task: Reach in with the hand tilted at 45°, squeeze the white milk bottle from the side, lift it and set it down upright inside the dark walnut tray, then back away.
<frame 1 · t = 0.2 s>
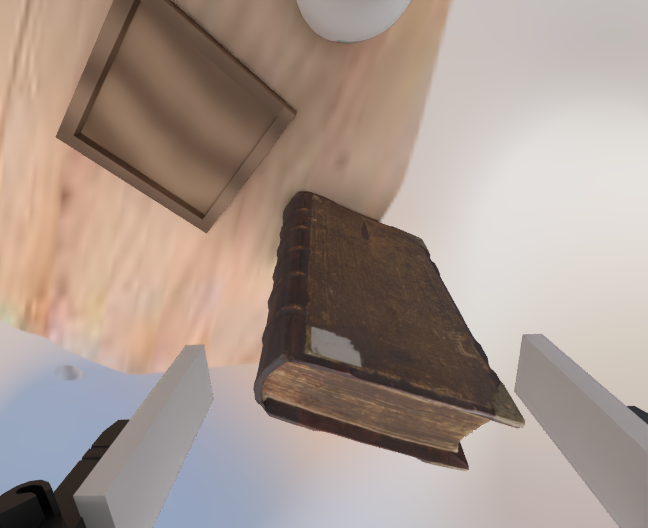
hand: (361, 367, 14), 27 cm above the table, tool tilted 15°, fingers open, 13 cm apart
walnut tray: (182, 121, 34), on the table
book: (352, 227, 41), on the table
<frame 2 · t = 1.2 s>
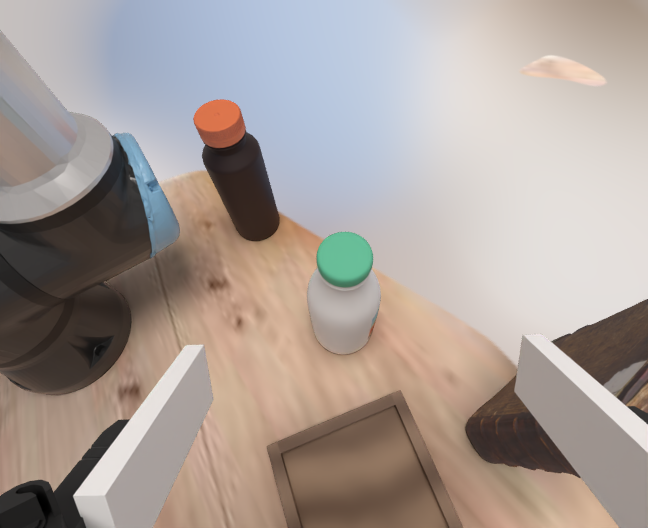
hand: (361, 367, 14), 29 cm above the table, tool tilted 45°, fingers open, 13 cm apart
walnut tray: (363, 494, 37), on the table
vinegar: (258, 223, 53), on the table
book: (519, 399, 41), on the table
milk bottle: (342, 326, 45), on the table
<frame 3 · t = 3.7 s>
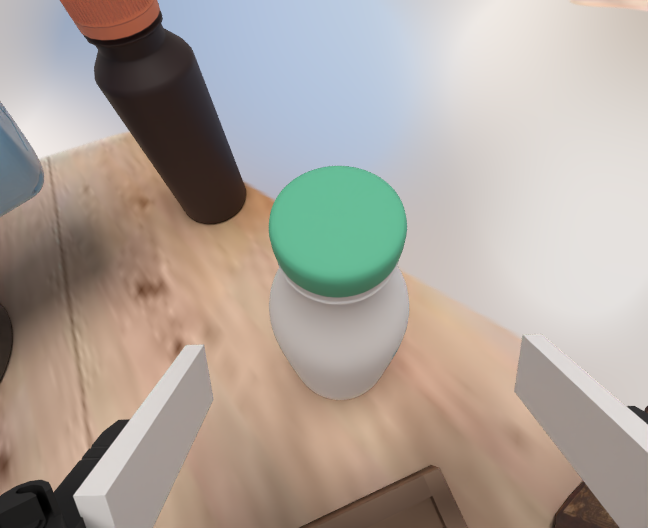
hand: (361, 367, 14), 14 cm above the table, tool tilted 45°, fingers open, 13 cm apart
vinegar: (216, 199, 37), on the table
book: (637, 475, 24), on the table
milk bottle: (339, 352, 29), on the table
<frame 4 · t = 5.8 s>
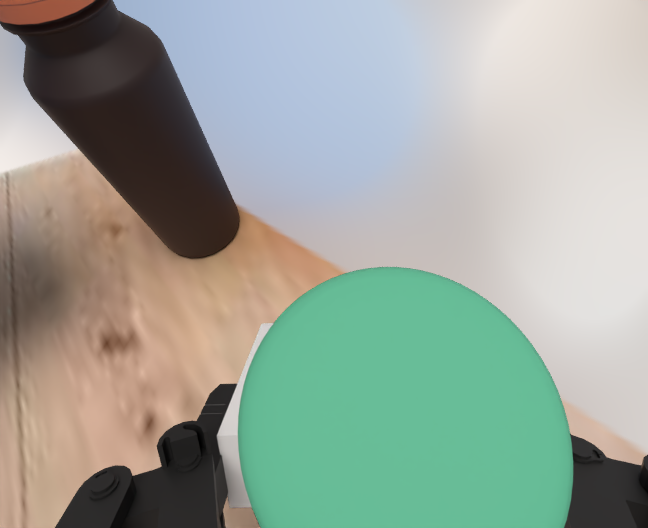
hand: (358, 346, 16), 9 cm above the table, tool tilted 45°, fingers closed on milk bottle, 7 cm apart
vinegar: (203, 227, 31), on the table
milk bottle: (355, 433, 22), on the table, touching gripper
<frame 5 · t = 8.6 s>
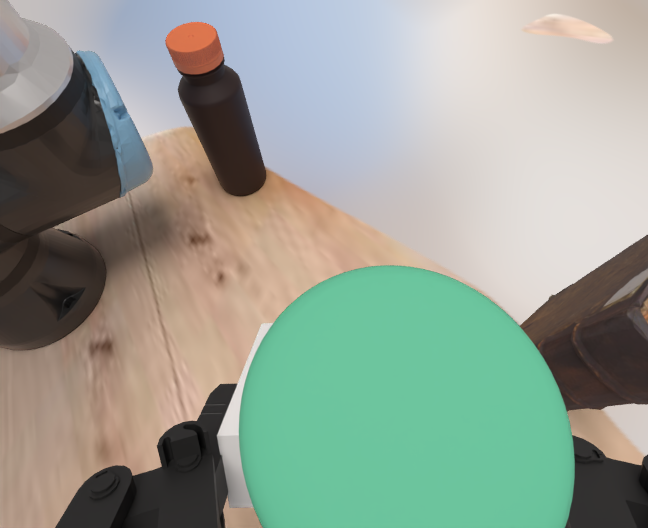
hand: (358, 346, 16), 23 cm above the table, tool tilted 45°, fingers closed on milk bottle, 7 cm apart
vinegar: (244, 179, 50), on the table
book: (519, 355, 38), on the table
milk bottle: (355, 433, 22), point 14 cm above the table, touching gripper
when the fingers open (12 cm above the table, at t = 11.2 s): milk bottle drops 2 cm, resting on walnut tray.
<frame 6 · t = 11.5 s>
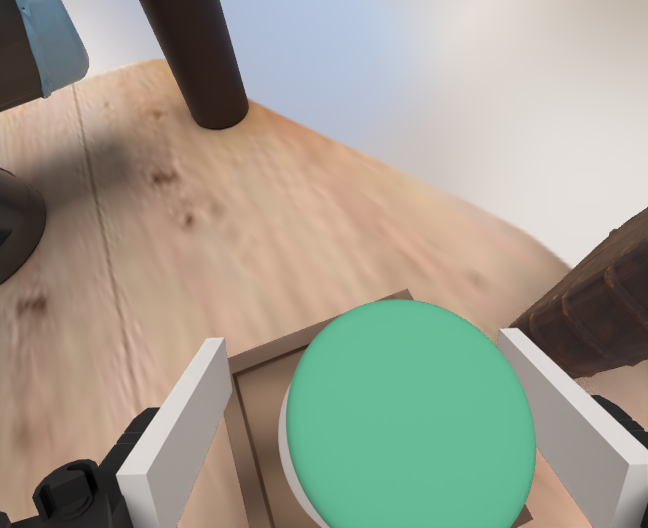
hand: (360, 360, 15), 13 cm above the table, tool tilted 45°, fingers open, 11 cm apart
walnut tray: (354, 433, 25), on the table
vinegar: (221, 112, 42), on the table
book: (575, 305, 29), on the table
milk bottle: (359, 434, 24), point 1 cm above the table, touching walnut tray
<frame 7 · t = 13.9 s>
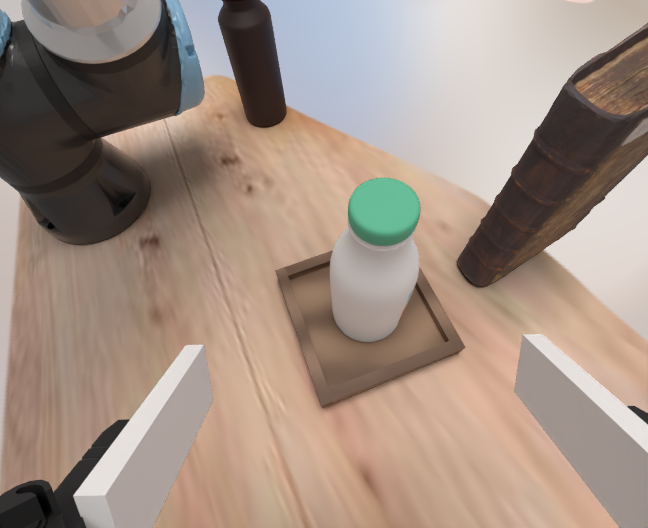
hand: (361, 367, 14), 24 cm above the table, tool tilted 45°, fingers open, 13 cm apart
walnut tray: (362, 313, 40), on the table
vinegar: (266, 114, 58), on the table
book: (507, 242, 44), on the table
milk bottle: (365, 311, 40), point 1 cm above the table, touching walnut tray
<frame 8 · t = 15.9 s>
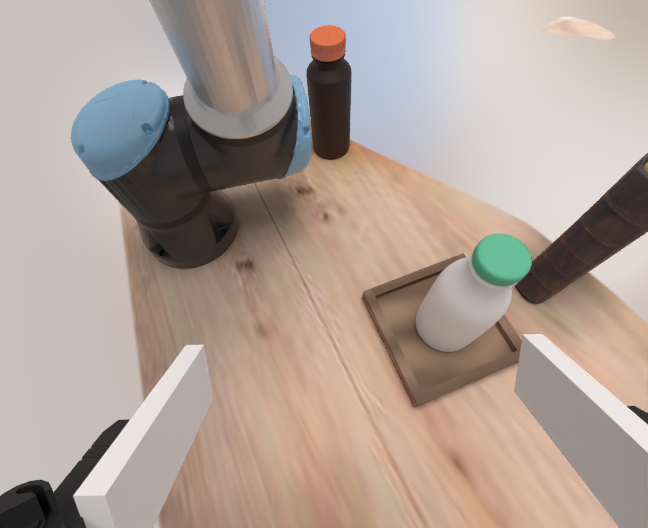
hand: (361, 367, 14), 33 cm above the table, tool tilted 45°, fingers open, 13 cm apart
walnut tray: (438, 327, 48), on the table
vinegar: (331, 147, 65), on the table
book: (555, 263, 52), on the table
milk bottle: (442, 325, 47), point 1 cm above the table, touching walnut tray
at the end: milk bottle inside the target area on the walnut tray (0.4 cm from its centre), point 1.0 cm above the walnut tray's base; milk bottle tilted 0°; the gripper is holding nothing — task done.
